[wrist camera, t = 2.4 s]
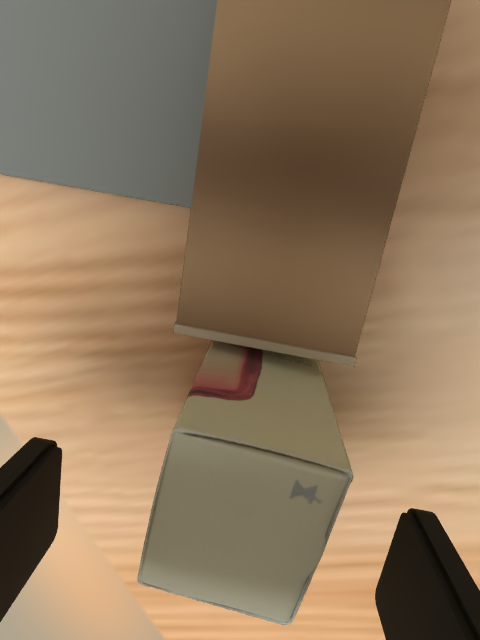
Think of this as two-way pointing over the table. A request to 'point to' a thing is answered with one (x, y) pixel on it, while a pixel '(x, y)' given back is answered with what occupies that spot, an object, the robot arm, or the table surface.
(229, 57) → the bronze rectangular slab
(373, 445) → the table surface
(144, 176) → the slate pad
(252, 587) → the small box
